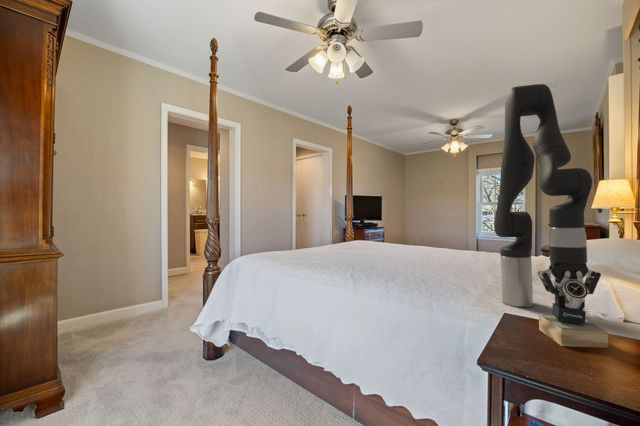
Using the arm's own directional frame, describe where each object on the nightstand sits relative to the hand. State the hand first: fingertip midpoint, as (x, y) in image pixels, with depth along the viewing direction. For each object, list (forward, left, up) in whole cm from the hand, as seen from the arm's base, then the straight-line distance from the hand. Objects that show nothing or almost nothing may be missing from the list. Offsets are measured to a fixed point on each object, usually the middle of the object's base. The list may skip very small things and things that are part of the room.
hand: (569, 309), depth 76 cm
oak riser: (0, 0, -8) cm, 8 cm away
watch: (0, -1, -3) cm, 3 cm away
